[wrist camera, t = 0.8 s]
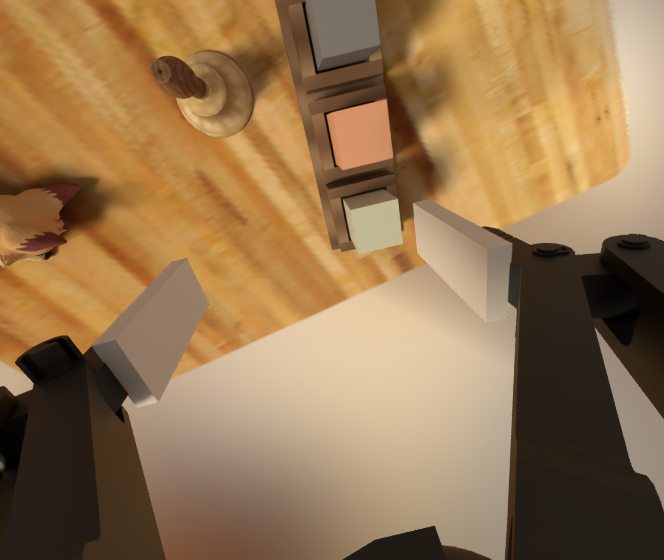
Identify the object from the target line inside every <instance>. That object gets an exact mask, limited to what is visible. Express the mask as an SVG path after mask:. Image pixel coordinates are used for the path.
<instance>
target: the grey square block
mask: <svg viewBox="0 0 664 560" xmlns="http://www.w3.org/2000/svg"><path fill="white" fill-rule="evenodd" d="M305 9H306V14H307V19H308V25H309V30H310V35H311V40H312V45H313V50H314V55H315V60H316V65H317V70H318V71H321V70H325V69H329V68H333V67H338V66H342V65H346V64H350V63H354V62H358V61H362V60H366V59H367V58H368V57H369V56H370V55H371V54H372V53H373V52H374V51H375V50H376V49H377V48H378V47H379V46H380V36H379V27H378V18H377V9H376V1H375V0H306V6H305Z"/></svg>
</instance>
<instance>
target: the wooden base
mask: <svg viewBox="0 0 664 560" xmlns="http://www.w3.org/2000/svg"><path fill="white" fill-rule="evenodd" d="M375 1H376V0H375ZM275 2H276V7H277V11H278V15H279V20H280V24H281V29H282V33H283V37H284V42H285V46H286V50H287V55H288V59H289V63H290V68H291V72H292V76H293V81H294V85H295V89H296V94H297V98H298V103H299V107H300V111H301V116H302V120H303V124H304V129H305V133H306V137H307V142H308V146H309V150H310V155H311V159H312V163H313V168H314V172H315V177H316V181H317V185H318V190H319V194H320V198H321V203H322V207H323V211H324V216H325V220H326V224H327V229H328V233H329V238H330V242H331V246H332V250H335V249H339V248H340V249H341V252H344V251H349V250H353V249H356V248H355V246H354V244H353V242H352V240H351V238H350V234H349V228H348V223H347V218H346V213H345V208H344V203H343V198H347V197H351V196H355V195H359V194H363V193H367V192H372V191H376V190H380V189H384V190H386V191H387V192H389V193H390V194H391V195H393V196H394V197H396V198H397V199H398V195H397V186H396V177H395V173H394V167H393V165H394V160H393V158H391V159H387V160H383V161H379V162H375V163H370V164H366V165H362V166H358V167H354V168H350V169H346V170H342V169H341V168H340V167H339V166H338V165H336V162H335V157H334V152H333V147H332V142H331V137H330V132H329V126H328V121H327V116H326V115H328V114H330V113H332V112H336V111H340V110H344V109H349V108H353V107H357V106H361V105H365V104H369V103H373V102H377V101H382V100H386V99H387V97H386V88H385V84H384V79H383V73H384V71H383V62H382V53H381V44H380V46H379V47H378V48H377V49H376V50H375V51H374V52H373V53H372V54H371V55H370V56H369V57H368V58H367V59H366V60H362V61H358V62H354V63H350V64H346V65H342V66H338V67H333V68H329V69H325V70H321V71H318V70H317V65H316V60H315V55H314V50H313V45H312V40H311V35H310V30H309V25H308V19H307V14H306V9H305V6H306V0H275ZM376 9H377V8H376ZM377 18H378V17H377ZM378 27H379V26H378ZM379 36H380V35H379ZM387 107H388V106H387ZM388 116H389V115H388ZM389 125H390V124H389ZM390 134H391V133H390ZM391 143H392V142H391ZM392 152H393V151H392ZM398 205H399V204H398ZM399 214H400V213H399ZM400 223H401V222H400ZM401 232H402V231H401Z"/></svg>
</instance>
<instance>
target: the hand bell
mask: <svg viewBox="0 0 664 560" xmlns="http://www.w3.org/2000/svg"><path fill="white" fill-rule="evenodd" d="M150 69H151V73H152V76H153V77H154V79H155V81H156V83H157V84H158V86H159V87H160V88H161V89H162V90H163V91H164V92H165V93H167V94H168V95H170V96H172V97H175V98H176V99H177V102H178V105H179V107H180V110H181V112H182V113H183V115H184V116H185V118H186V119H187V120H188V122H189V123H190V124H191V125H192V126H193V127H195V128H196V129H197V130H199V131H200V132H202V133H204V134H206V135H209V136H213V137H228V136H231V135H234V134H236V133H237V132H239V131H240V130H241V129H242V128H243V127H244V126H245V125H246V123H247V122H248V120H249V118H250V115H251V112H252V105H253V98H252V91H251V87H250V85H249V82H248V79H247V77H246V76H245V74H244V72H243V71H242V69H241V68H240V67H239V66H238V65H237V64H236V63H235V62H234V61H233V60H231V59H230V58H228V57H227V56H225V55H223V54H221V53H218V52H214V51H201V52H197V53H194V54H192V55H190V56H189V57H188V58H186V59H185V60H184V61H182V60H181V59H179V58H176V57H173V56H163V57H160V58H158V59H157V60H154V61H153V62H152V63H151V65H150Z"/></svg>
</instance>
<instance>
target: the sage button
mask: <svg viewBox="0 0 664 560" xmlns="http://www.w3.org/2000/svg"><path fill="white" fill-rule="evenodd" d="M343 203H344V208H345V213H346V218H347V223H348V228H349V234H350V238H351V240H352V242H353V244H354V246H355V248H356V250H357V252H358V254H362V253H366V252H370V251H374V250H378V249H382V248H387V247H391V246H395V245H399V244H403V240H402V232H401V223H400V214H399V205H398V199H397V198H396V197H394V196H393V195H391V194H390V193H389V192H387V191H386V190H384V189H380V190H376V191H372V192H367V193H363V194H359V195H355V196H351V197H347V198H343Z"/></svg>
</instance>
